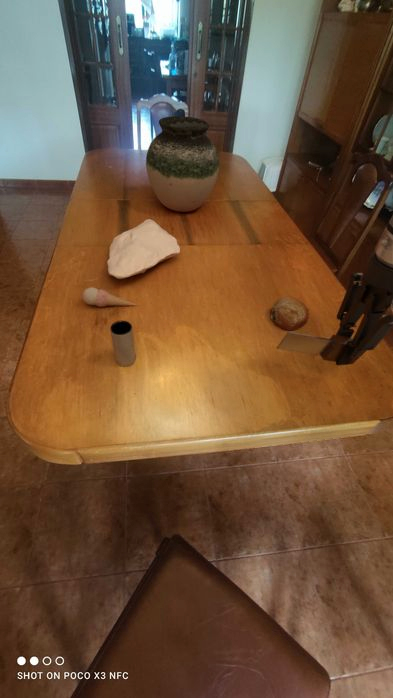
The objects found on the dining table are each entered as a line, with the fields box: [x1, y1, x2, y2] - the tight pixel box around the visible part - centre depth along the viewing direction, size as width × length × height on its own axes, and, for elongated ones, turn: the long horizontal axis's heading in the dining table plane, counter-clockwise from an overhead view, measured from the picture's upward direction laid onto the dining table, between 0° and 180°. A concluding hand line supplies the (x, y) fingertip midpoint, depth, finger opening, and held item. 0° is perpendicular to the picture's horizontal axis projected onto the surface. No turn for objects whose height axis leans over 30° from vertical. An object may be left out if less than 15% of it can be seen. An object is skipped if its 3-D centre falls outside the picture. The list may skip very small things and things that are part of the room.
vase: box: [145, 115, 220, 213], centre depth 124 cm, size 28×28×30 cm
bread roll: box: [270, 296, 310, 331], centre depth 87 cm, size 10×10×8 cm
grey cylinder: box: [109, 320, 137, 367], centre depth 71 cm, size 4×4×10 cm
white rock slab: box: [107, 218, 181, 280], centre depth 101 cm, size 24×35×9 cm
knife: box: [275, 331, 367, 365], centre depth 63 cm, size 19×2×5 cm, turn 99°
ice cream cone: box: [82, 287, 139, 308], centre depth 86 cm, size 5×5×15 cm
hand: (338, 357), depth 67 cm, fingers closed on knife, 2 cm apart
